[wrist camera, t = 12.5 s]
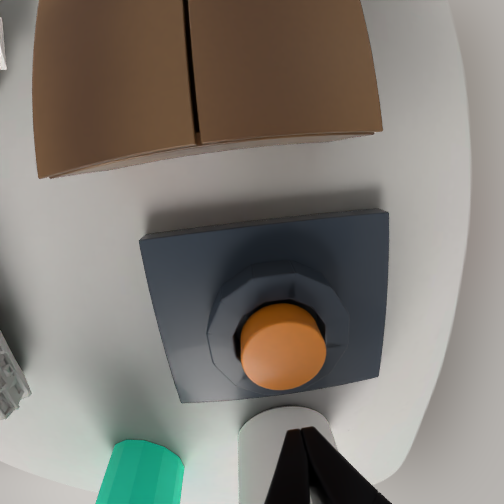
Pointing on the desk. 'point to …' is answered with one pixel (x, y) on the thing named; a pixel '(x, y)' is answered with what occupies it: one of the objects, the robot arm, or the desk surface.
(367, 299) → the button box
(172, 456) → the candle
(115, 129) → the carton
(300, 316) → the button
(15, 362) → the toy car
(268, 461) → the can
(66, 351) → the desk surface
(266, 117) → the flap
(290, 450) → the robot arm
